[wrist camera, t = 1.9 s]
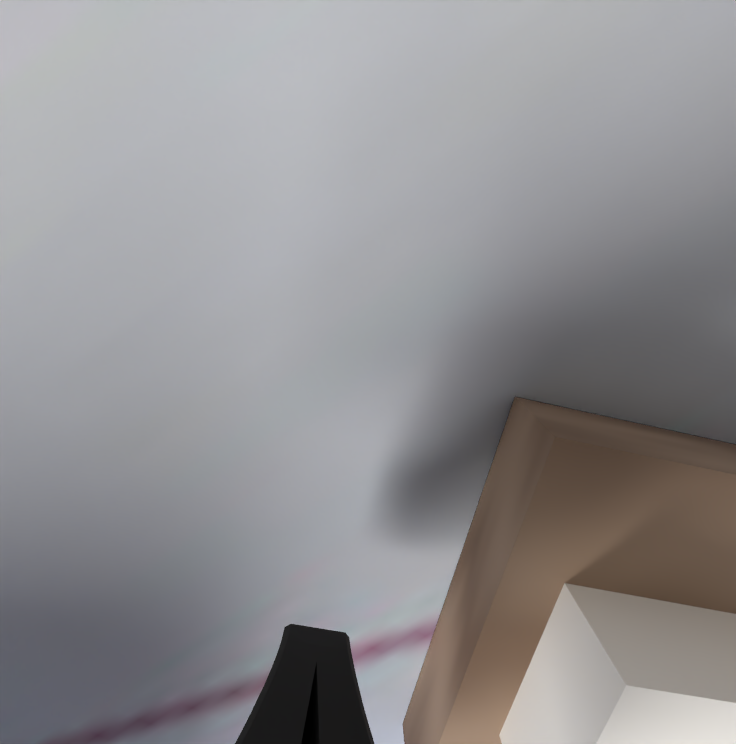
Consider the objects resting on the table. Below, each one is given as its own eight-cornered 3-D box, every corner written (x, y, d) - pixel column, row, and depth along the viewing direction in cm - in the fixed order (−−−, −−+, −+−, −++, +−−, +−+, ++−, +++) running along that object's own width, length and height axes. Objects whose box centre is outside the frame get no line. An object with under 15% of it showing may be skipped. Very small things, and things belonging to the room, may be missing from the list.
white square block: (671, 760, 12) (748, 887, 10) (499, 735, 12) (535, 861, 9) (756, 617, 11) (868, 724, 8) (564, 582, 10) (626, 684, 8)
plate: (822, 785, 16) (902, 878, 14) (402, 723, 15) (411, 815, 13) (1027, 507, 13) (1176, 567, 11) (514, 396, 12) (555, 436, 9)
